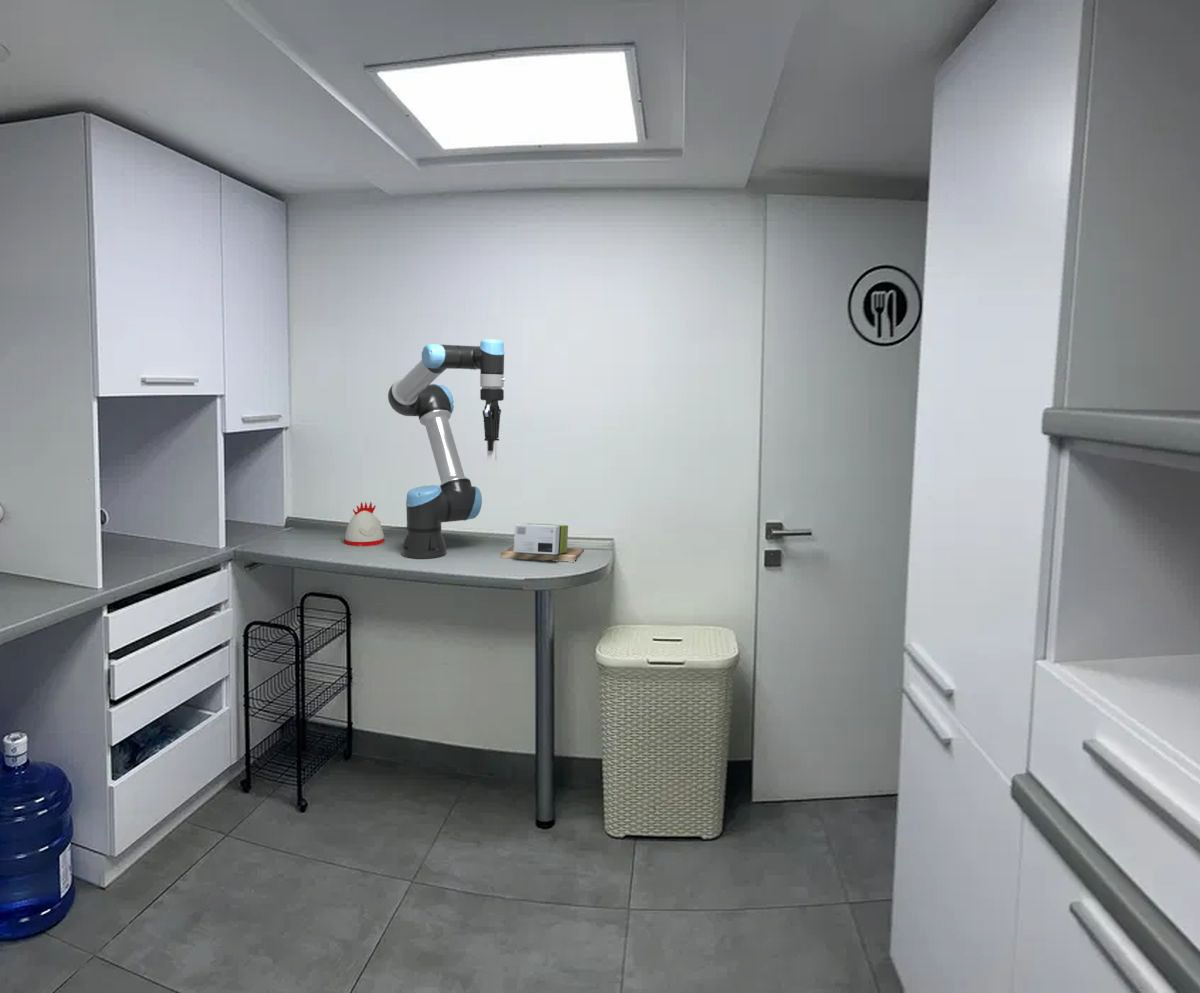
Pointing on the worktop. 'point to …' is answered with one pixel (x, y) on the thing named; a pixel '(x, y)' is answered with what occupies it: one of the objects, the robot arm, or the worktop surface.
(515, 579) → the worktop surface
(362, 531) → the kitchen timer
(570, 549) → the tan flat board
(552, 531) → the tea box
